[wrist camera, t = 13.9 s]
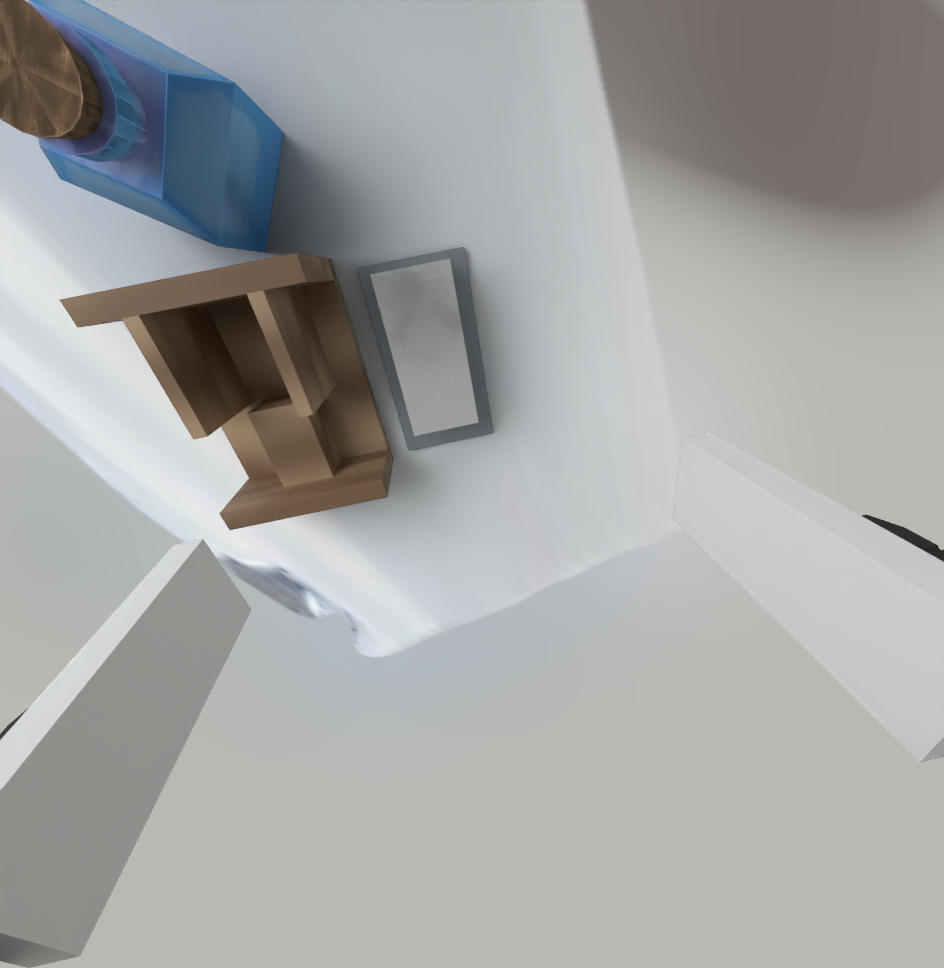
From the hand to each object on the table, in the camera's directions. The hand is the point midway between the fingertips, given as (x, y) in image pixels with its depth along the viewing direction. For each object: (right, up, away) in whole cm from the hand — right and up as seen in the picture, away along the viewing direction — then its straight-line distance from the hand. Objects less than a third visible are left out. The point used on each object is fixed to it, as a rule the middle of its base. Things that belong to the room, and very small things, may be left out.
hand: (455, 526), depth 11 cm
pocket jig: (-13, +8, +17) cm, 23 cm away
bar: (-3, +11, +16) cm, 20 cm away
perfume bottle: (-14, +19, +11) cm, 26 cm away
